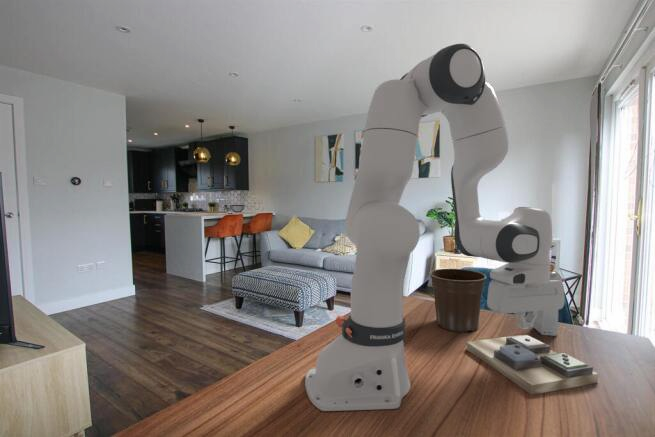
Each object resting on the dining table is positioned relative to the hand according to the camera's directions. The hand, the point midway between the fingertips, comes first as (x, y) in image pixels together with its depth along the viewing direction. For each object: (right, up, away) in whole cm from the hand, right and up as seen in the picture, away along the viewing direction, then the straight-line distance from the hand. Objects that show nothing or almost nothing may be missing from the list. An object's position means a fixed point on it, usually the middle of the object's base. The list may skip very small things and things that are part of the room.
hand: (525, 327), depth 80 cm
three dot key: (+3, -6, -9) cm, 11 cm away
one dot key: (+1, -5, 0) cm, 5 cm away
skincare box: (+15, -6, +15) cm, 22 cm away
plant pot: (-9, -6, +20) cm, 23 cm away
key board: (-2, -7, -4) cm, 9 cm away
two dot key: (-6, -5, -6) cm, 10 cm away
